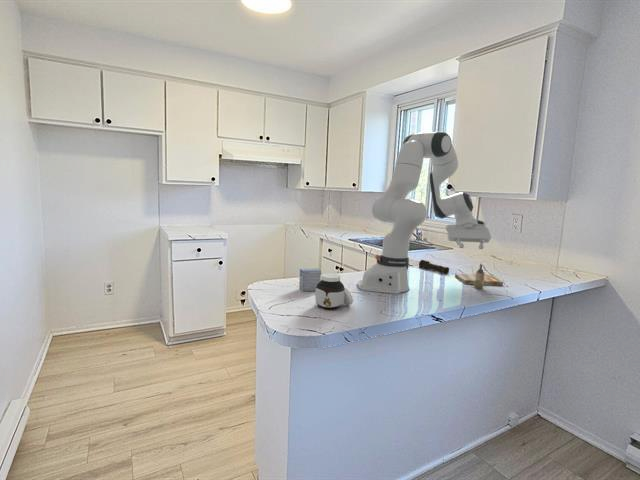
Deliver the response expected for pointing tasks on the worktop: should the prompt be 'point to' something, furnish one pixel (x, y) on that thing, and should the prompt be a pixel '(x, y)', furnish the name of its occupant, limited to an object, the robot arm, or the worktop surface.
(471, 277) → the board
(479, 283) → the brown bottle
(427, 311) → the worktop surface
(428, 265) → the hand tool
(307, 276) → the medicine box
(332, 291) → the spread jar
